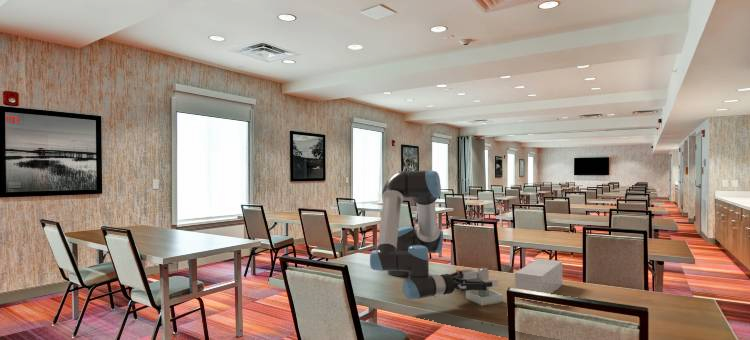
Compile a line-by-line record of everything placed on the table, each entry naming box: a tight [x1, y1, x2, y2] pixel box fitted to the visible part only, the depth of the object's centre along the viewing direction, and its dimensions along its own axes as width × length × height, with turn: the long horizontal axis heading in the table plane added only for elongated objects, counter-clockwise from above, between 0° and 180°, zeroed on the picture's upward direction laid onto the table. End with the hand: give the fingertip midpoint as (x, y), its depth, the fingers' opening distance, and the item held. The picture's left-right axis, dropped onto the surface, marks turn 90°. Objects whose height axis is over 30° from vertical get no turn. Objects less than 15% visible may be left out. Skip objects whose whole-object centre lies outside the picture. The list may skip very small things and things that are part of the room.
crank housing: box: [455, 268, 479, 293], centre depth 190 cm, size 7×8×9 cm
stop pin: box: [477, 267, 490, 297], centre depth 175 cm, size 4×4×12 cm
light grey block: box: [514, 258, 563, 294], centre depth 187 cm, size 32×11×11 cm, turn 143°
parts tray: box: [465, 288, 504, 307], centre depth 175 cm, size 10×10×3 cm
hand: (486, 278), depth 176 cm, fingers open, 13 cm apart
